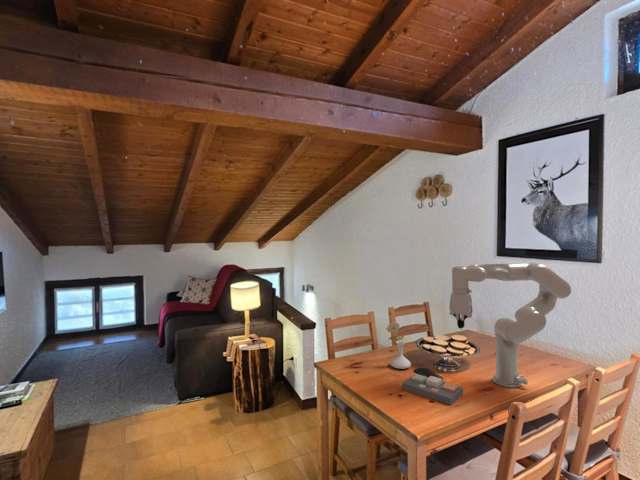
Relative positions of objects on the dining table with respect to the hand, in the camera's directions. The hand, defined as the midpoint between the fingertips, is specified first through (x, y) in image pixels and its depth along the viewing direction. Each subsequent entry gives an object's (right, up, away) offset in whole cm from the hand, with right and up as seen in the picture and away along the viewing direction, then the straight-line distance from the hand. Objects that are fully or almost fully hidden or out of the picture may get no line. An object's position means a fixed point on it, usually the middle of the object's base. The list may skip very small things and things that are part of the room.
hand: (460, 327), depth 172 cm
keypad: (-18, -27, -11) cm, 34 cm away
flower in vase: (-27, -27, +19) cm, 42 cm away
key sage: (-22, -26, -4) cm, 34 cm away
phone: (-14, -27, +8) cm, 32 cm away
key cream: (-16, -25, -9) cm, 31 cm away
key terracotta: (-11, -26, -14) cm, 32 cm away
